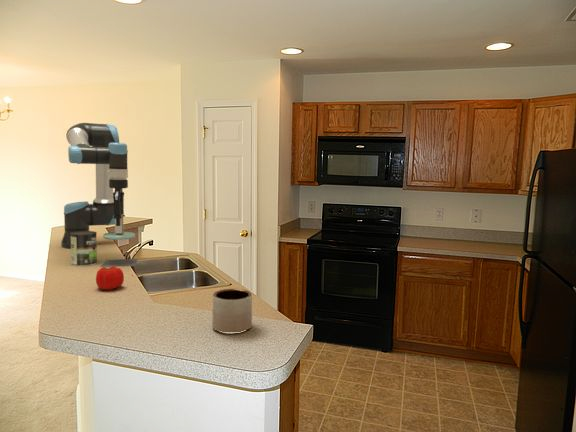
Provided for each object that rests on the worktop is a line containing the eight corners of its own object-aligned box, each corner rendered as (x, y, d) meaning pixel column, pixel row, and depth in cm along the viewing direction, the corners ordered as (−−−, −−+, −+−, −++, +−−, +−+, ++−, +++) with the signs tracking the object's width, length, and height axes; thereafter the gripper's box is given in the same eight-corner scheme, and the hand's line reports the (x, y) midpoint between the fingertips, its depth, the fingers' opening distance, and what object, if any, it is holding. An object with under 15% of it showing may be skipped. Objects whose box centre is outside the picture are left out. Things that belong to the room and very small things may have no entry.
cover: (106, 234, 189) (105, 212, 188) (136, 234, 192) (136, 212, 191) (100, 239, 176) (99, 216, 175) (133, 239, 179) (132, 216, 178)
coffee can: (102, 262, 187) (101, 231, 185) (87, 268, 177) (86, 235, 175) (82, 261, 189) (81, 230, 187) (65, 266, 179) (64, 233, 177)
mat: (106, 260, 190) (106, 259, 190) (138, 260, 193) (138, 258, 193) (99, 268, 177) (99, 266, 177) (134, 267, 180) (134, 265, 180)
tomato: (128, 287, 150) (128, 267, 149) (106, 293, 143) (106, 272, 142) (111, 283, 155) (111, 263, 154) (89, 289, 147) (89, 268, 147)
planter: (204, 326, 116) (204, 293, 114) (235, 317, 123) (236, 286, 122) (227, 339, 108) (228, 303, 107) (259, 328, 115) (260, 294, 114)
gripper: (112, 177, 188) (113, 229, 191) (105, 179, 172) (106, 235, 175) (130, 178, 190) (130, 229, 193) (124, 180, 174) (125, 235, 177)
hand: (119, 232), depth 184 cm, fingers closed on cover, 3 cm apart
